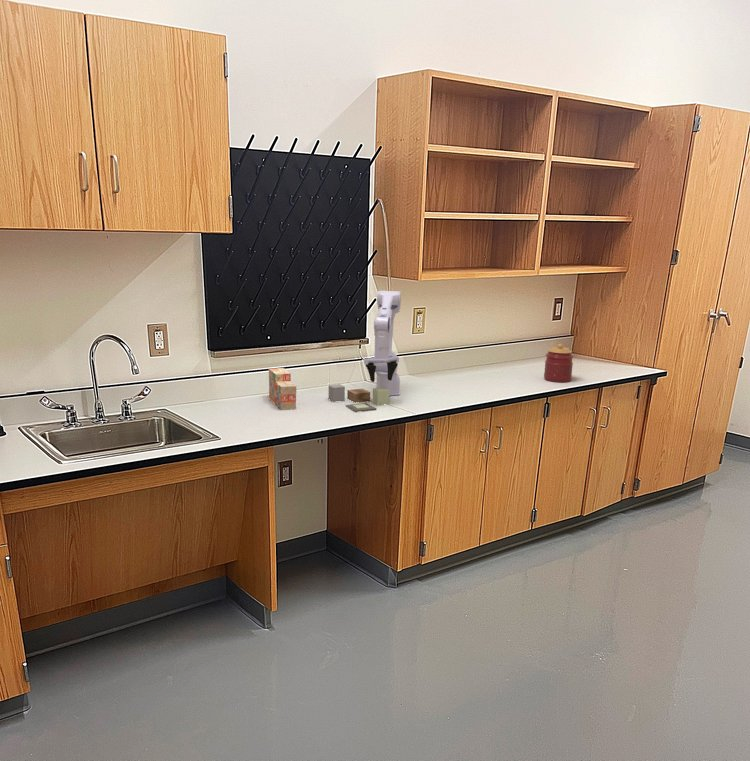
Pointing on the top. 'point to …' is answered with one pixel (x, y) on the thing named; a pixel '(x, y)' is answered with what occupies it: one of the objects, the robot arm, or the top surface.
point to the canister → (558, 364)
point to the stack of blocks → (282, 388)
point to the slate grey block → (336, 393)
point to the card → (360, 407)
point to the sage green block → (380, 396)
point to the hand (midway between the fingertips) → (381, 380)
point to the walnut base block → (358, 395)
